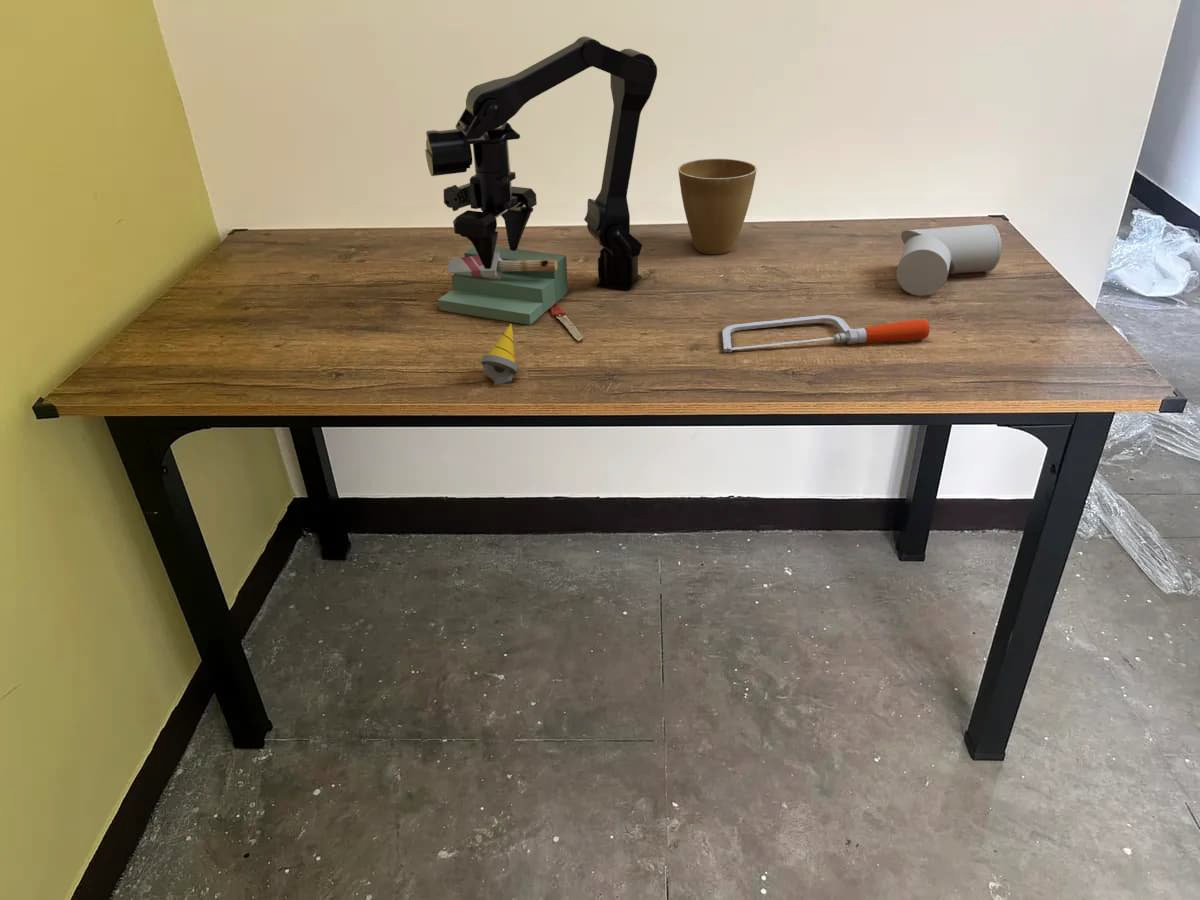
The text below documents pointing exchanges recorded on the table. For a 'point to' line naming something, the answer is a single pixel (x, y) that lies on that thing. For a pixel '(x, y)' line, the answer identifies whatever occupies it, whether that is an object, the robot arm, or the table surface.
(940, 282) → the l-shaped cylinder
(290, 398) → the table surface
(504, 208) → the robot arm
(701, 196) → the plant pot
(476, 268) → the paintbrush
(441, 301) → the staircase
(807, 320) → the hand saw
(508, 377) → the yellow cone with collar
